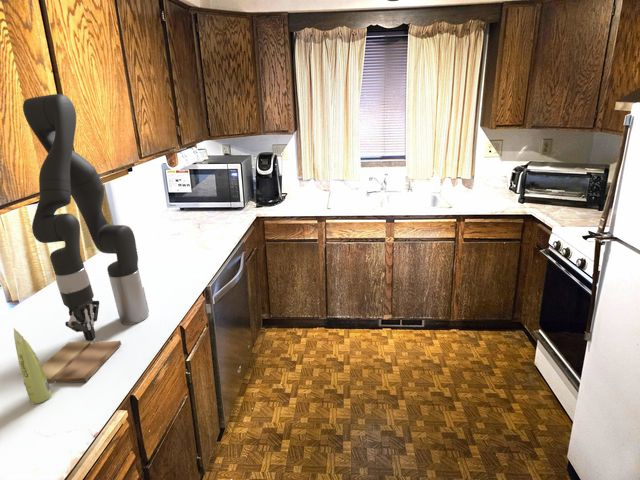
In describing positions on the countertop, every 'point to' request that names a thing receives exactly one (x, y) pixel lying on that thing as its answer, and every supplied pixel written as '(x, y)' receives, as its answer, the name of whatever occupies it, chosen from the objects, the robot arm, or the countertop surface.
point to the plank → (88, 362)
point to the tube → (31, 371)
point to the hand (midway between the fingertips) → (91, 339)
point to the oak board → (63, 359)
